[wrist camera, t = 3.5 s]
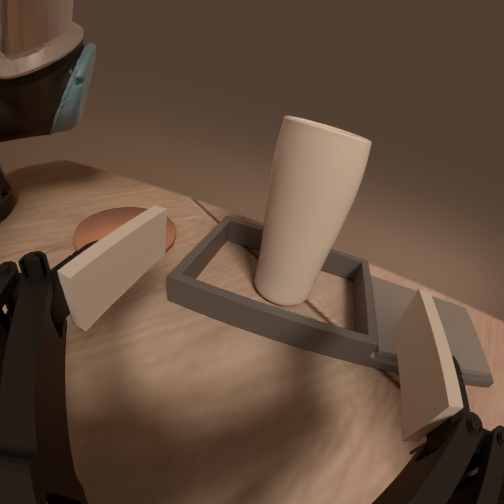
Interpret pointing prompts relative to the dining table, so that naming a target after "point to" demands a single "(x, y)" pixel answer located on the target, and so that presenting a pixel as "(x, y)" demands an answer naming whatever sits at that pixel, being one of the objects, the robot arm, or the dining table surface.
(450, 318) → the open case
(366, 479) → the dining table surface
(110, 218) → the coaster
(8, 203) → the robot arm
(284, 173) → the drinking glass
